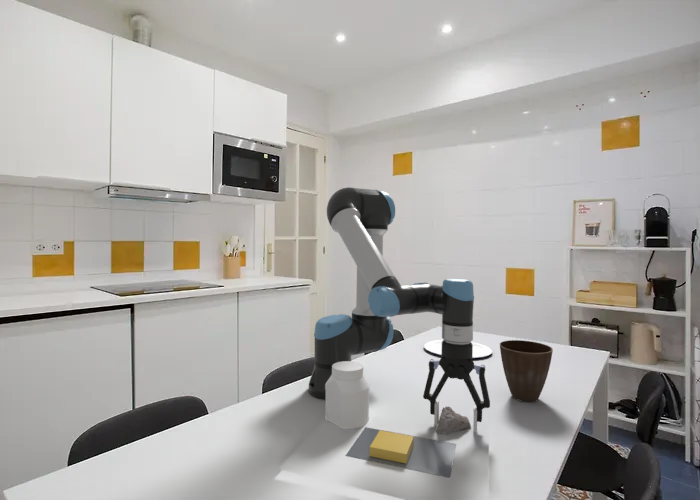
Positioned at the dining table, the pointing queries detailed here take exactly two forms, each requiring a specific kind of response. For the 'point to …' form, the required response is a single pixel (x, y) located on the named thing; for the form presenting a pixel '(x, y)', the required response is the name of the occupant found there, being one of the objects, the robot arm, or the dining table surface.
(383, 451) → the yellow block
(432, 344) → the plate
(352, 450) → the slate board
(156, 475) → the dining table surface
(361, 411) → the jar
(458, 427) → the stone
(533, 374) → the plant pot
